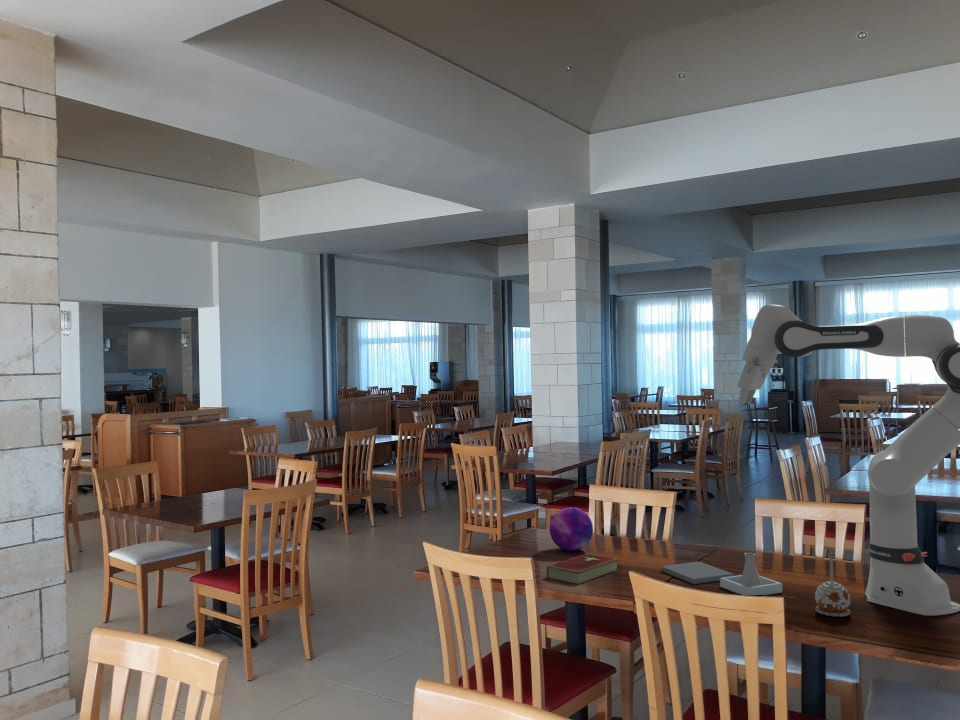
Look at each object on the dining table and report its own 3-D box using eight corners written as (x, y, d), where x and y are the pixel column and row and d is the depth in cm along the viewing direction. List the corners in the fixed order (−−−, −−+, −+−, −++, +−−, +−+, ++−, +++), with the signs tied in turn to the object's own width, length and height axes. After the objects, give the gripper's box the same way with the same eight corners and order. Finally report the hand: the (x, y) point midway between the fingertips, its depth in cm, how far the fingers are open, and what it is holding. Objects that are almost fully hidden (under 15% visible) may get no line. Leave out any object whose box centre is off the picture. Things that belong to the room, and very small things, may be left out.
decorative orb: (595, 555, 253) (594, 511, 254) (550, 555, 254) (549, 511, 255) (591, 545, 268) (590, 503, 269) (549, 545, 269) (548, 503, 270)
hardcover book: (546, 578, 228) (546, 564, 228) (586, 565, 243) (586, 552, 243) (579, 585, 219) (578, 571, 220) (618, 571, 235) (618, 557, 235)
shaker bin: (782, 592, 208) (782, 583, 208) (748, 597, 203) (748, 588, 203) (752, 581, 218) (752, 573, 218) (720, 586, 214) (720, 577, 214)
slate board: (733, 578, 222) (732, 573, 222) (693, 584, 217) (693, 579, 217) (698, 566, 237) (698, 561, 237) (661, 571, 232) (661, 566, 232)
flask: (766, 594, 207) (765, 557, 207) (739, 593, 208) (738, 556, 208) (762, 586, 214) (761, 551, 214) (735, 585, 215) (734, 550, 215)
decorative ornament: (830, 619, 184) (828, 558, 185) (809, 610, 192) (807, 551, 192) (857, 616, 186) (855, 556, 187) (835, 607, 194) (833, 549, 194)
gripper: (764, 361, 208) (748, 408, 209) (775, 361, 225) (760, 405, 227) (741, 354, 211) (726, 401, 212) (754, 355, 228) (739, 398, 230)
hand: (744, 403), depth 220 cm, fingers open, 8 cm apart
